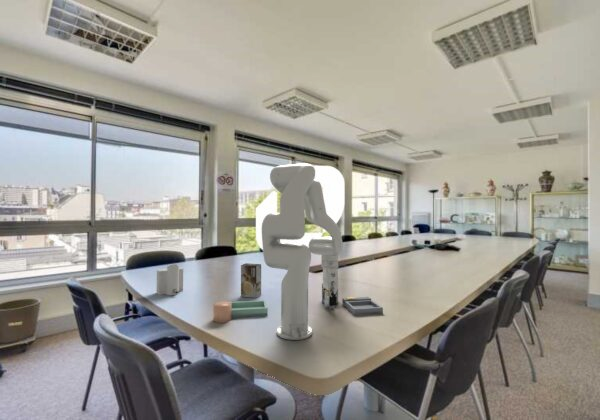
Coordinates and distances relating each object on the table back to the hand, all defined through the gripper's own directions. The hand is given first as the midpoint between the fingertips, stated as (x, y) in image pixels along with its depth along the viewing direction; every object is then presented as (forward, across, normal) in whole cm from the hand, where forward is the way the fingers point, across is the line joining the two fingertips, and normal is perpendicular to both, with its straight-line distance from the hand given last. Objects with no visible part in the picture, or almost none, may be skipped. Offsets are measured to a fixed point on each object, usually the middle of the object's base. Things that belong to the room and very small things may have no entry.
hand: (329, 302), depth 130 cm
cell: (+3, 0, 0) cm, 3 cm away
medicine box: (+3, +9, -3) cm, 10 cm away
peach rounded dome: (+2, -6, +46) cm, 47 cm away
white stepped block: (+3, +36, +75) cm, 83 cm away
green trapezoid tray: (+2, +1, +36) cm, 36 cm away
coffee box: (+3, +26, +34) cm, 43 cm away
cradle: (+3, -4, -14) cm, 14 cm away
